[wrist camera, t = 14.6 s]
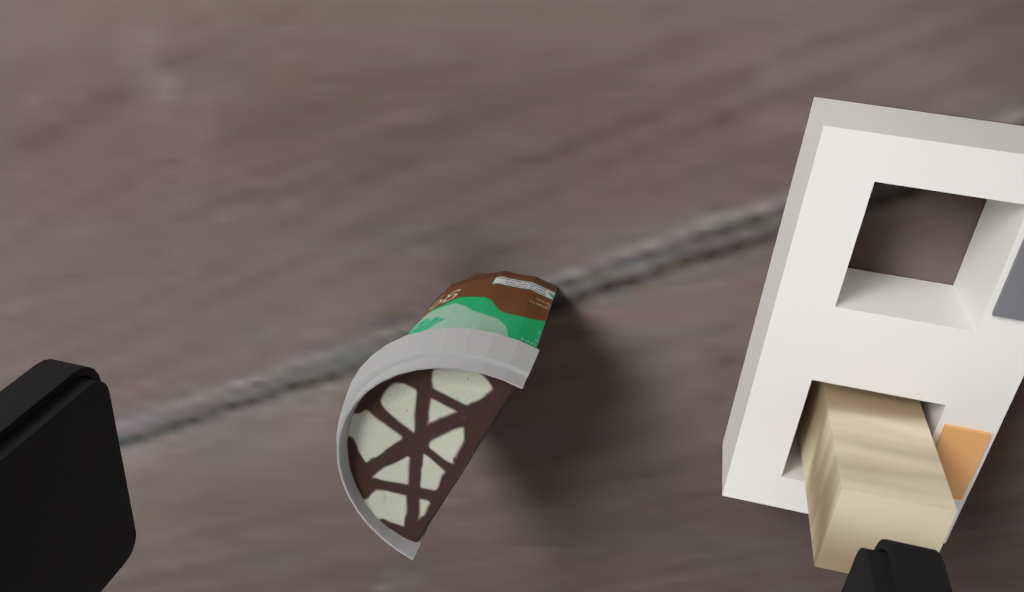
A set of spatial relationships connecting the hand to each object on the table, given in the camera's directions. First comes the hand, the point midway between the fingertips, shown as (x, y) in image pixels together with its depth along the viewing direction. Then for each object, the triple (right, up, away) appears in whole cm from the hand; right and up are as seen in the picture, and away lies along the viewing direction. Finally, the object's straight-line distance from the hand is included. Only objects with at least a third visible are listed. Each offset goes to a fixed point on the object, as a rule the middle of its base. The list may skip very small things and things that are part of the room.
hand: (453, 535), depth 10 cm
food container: (-2, +2, +33) cm, 33 cm away
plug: (+17, -1, +30) cm, 34 cm away
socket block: (+17, +2, +27) cm, 32 cm away
